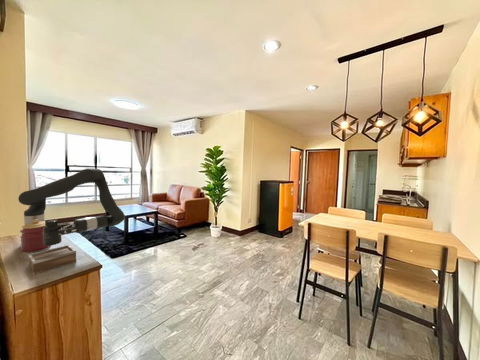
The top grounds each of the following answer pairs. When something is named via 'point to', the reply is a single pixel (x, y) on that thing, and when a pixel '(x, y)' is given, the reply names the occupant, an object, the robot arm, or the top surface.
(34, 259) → the open rectangular tray
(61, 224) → the robot arm
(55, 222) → the supplement bottle
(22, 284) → the top surface
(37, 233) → the canister
